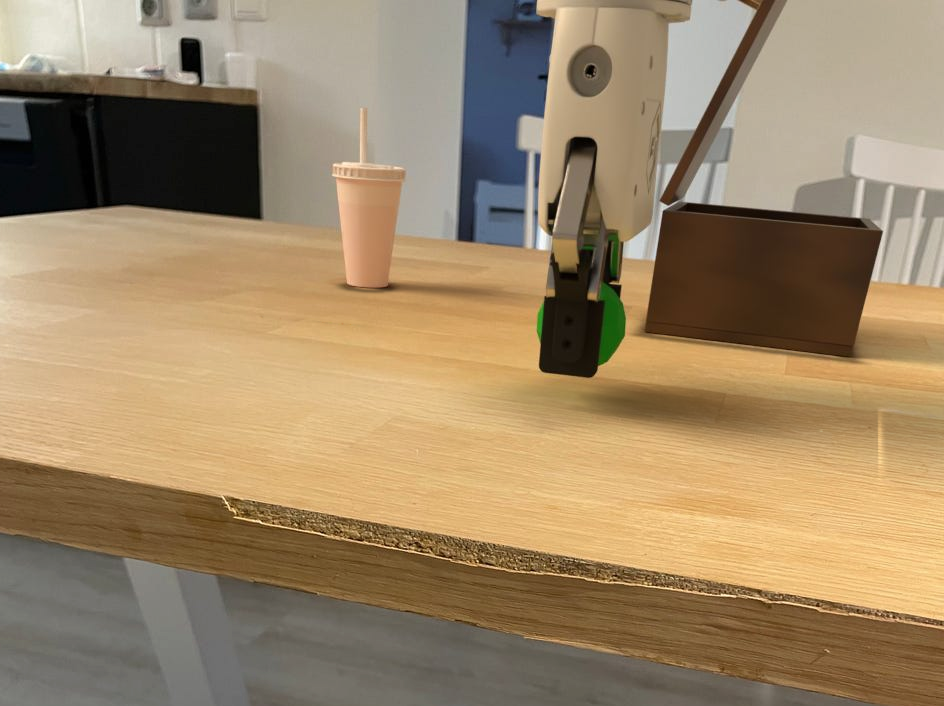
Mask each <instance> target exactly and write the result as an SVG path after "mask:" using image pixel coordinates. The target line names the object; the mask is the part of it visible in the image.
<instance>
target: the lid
mask: <svg viewBox="0 0 944 706" xmlns="http://www.w3.org/2000/svg"><path fill="white" fill-rule="evenodd" d="M717 1H718V2H726V1H727V0H717ZM737 1H738V2H739V3H741V4H743V5H745V6H747V7H749V8H750V9H753V10H755V12H754V14H753V17H752V19H751V20H750V22H749V24H748V27H747V29H746V30H745V33H744V35H743V36H742V38H741V40H740V41H739V43H738V47H737V48H736V50H735V52H734V54H733V56H732V58H731V60H730V61H729V63H728V65H727V68H726V70H725V72H724V73H723V74H722V75H723V76H722V77H721V79H720V81H719V83H718V85H717V87H716V89H715V91H714V93H713V95H712V97H711V99H710V101H709V102H708V105H707V107H706V108H705V110H704V112H703V115H702V116H701V119H700V120H699V122H698V124H697V126H696V128H695V130H694V132H693V134H692V135H691V138H690V140H689V141H688V144H687V146H686V148H685V149H684V151H683V153H682V155H681V157H680V159H679V162H677V166H676V167H675V169H674V171H673V174H672V175H671V177H670V179H669V181H668V183H667V185H666V187H665V188H664V190H663V192H662V195H661V196H660V198H659V202H660V203H662V204H664V205H665V206H667V207H670V206H672V205H674V204H676V203H677V202H679V201H680V200H682V199H684V198H685V196H686V195H687V192H688V191H689V189H690V187H691V186H692V185H691V184H692V183H693V181H694V179H695V177H696V175H697V173H698V171H699V170H700V168H701V166H702V164H703V163H704V162H703V161H705V158H706V156H707V154H708V153H709V150H710V148H711V147H712V145H713V144H714V141H715V139H716V137H717V136H718V133H719V132H720V130H721V127H722V126H723V124H724V122H725V120H726V119H727V116H728V114H729V112H730V110H731V109H732V107H733V105H734V103H735V101H736V99H737V98H738V96H739V93H740V92H741V90H742V89H743V86H744V84H745V82H746V80H747V78H748V77H749V74H750V72H751V70H752V69H753V67H754V66H755V65H754V64H755V63H756V61H757V59H758V58H759V55H760V53H761V52H762V50H763V47H764V46H765V44H766V43H767V40H768V38H769V37H770V34H771V33H772V30H773V28H774V27H775V25H776V23H777V21H778V19H779V18H780V15H781V14H782V11H783V10H784V8H785V6H786V4H787V2H788V0H737Z"/></svg>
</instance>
